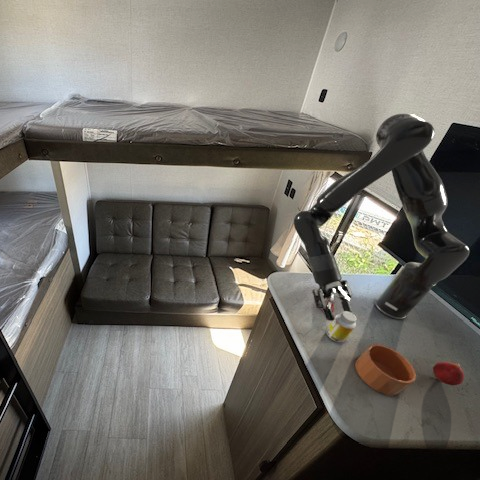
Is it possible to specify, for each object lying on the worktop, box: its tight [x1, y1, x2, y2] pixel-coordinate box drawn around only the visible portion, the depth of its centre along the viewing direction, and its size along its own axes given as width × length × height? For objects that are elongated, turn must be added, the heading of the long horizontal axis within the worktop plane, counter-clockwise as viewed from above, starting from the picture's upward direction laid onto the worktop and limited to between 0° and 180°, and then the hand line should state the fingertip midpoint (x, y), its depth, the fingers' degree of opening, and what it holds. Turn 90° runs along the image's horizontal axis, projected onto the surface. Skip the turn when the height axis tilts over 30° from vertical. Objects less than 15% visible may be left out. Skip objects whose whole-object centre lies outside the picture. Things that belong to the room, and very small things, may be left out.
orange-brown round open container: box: [354, 343, 417, 396], centre depth 72 cm, size 11×11×7 cm
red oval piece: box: [432, 361, 465, 386], centre depth 72 cm, size 6×6×8 cm
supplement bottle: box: [325, 310, 358, 343], centre depth 82 cm, size 6×6×10 cm
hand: (339, 316), depth 82 cm, fingers open, 8 cm apart
